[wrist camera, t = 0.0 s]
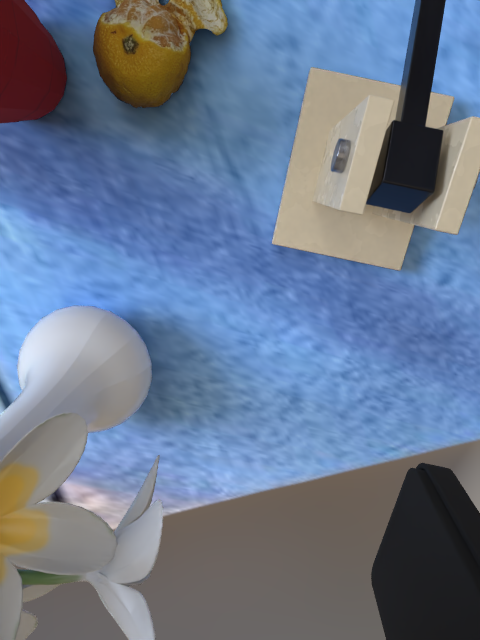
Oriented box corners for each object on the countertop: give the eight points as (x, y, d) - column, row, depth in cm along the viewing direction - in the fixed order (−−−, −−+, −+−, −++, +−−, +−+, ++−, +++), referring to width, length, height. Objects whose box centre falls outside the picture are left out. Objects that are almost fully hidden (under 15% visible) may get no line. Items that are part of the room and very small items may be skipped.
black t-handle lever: (376, -30, 22) (394, -80, 20) (475, -9, 22) (505, -57, 20) (333, 198, 20) (348, 174, 18) (440, 220, 20) (469, 199, 18)
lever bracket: (309, 71, 28) (340, -17, 16) (447, 100, 28) (585, 34, 16) (271, 242, 31) (274, 277, 19) (395, 267, 31) (477, 320, 19)
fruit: (238, -4, 27) (233, -32, 24) (191, 132, 30) (181, 125, 26) (111, -61, 27) (87, -98, 23) (74, 82, 29) (48, 68, 26)
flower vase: (236, 414, 36) (174, 883, 12) (18, 428, 37) (-432, 866, 13) (217, 253, 32) (70, 453, 8) (-24, 276, 33) (-752, 500, 10)
